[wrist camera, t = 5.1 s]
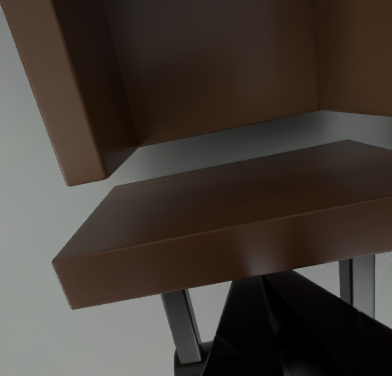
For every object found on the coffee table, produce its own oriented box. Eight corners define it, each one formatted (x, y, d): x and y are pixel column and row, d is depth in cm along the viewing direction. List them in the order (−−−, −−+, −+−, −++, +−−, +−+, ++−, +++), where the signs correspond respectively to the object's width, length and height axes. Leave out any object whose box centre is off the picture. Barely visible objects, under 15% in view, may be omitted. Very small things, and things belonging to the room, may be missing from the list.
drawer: (352, 272, 11) (464, 390, 7) (151, 308, 12) (127, 446, 7) (340, -212, 7) (648, -837, 2) (16, -132, 7) (-291, -545, 3)
